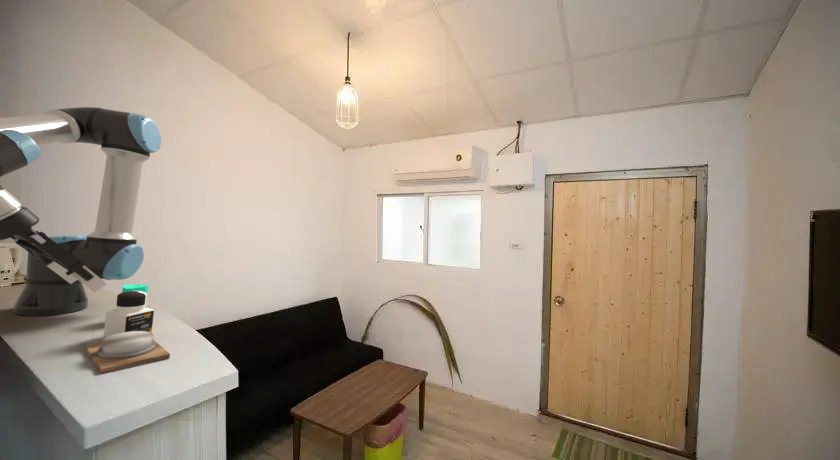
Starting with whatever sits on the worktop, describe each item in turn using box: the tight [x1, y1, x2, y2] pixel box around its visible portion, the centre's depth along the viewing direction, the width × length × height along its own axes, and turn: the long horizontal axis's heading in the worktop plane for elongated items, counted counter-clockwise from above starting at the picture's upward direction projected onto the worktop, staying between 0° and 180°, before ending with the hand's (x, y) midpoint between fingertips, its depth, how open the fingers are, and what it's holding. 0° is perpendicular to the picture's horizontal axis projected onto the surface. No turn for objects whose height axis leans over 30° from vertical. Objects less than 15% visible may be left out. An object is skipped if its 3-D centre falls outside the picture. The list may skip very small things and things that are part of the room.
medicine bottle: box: [103, 291, 155, 338], centre depth 86 cm, size 7×7×12 cm
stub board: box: [84, 331, 171, 374], centre depth 77 cm, size 16×12×4 cm
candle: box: [121, 281, 149, 308], centre depth 98 cm, size 6×6×12 cm
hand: (88, 283), depth 79 cm, fingers open, 13 cm apart
